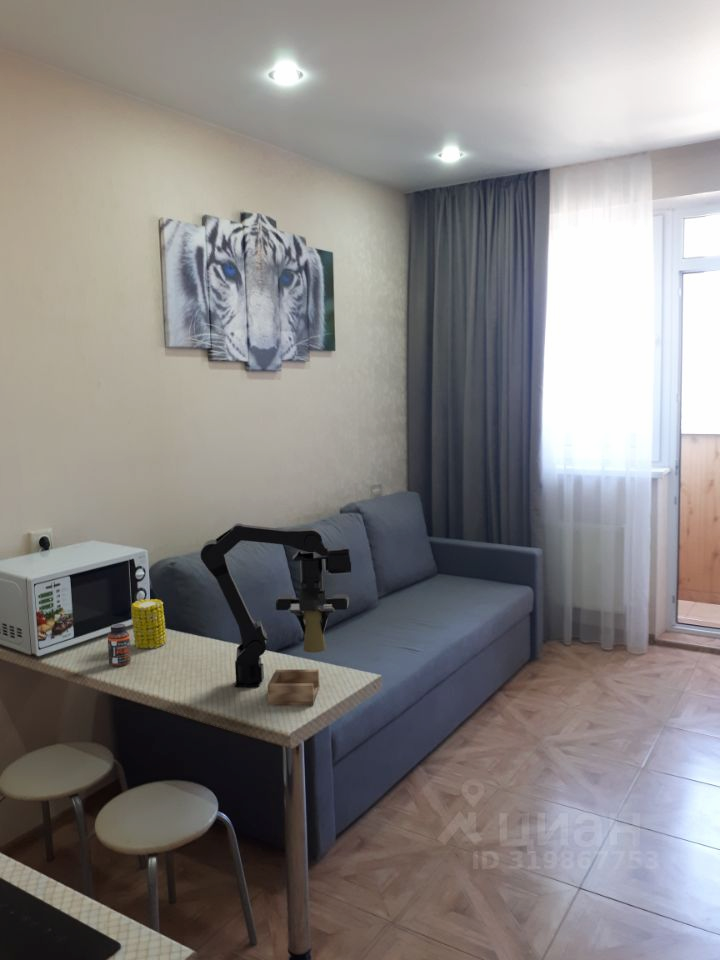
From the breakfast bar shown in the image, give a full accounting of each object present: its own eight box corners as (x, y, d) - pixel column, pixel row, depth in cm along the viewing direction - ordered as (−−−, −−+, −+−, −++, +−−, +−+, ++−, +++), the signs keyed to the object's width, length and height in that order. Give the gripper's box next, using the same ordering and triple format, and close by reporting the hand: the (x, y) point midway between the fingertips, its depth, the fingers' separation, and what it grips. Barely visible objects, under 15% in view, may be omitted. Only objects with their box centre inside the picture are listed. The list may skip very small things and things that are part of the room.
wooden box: (267, 705, 180) (266, 686, 179) (277, 687, 192) (276, 668, 191) (313, 705, 179) (312, 686, 179) (319, 686, 191) (318, 668, 190)
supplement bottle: (118, 668, 209) (115, 629, 208) (104, 665, 213) (102, 626, 212) (135, 662, 214) (132, 624, 213) (121, 659, 218) (119, 621, 217)
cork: (330, 647, 198) (328, 606, 197) (317, 653, 193) (316, 612, 192) (311, 644, 201) (310, 604, 200) (298, 650, 196) (296, 609, 195)
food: (168, 644, 235) (158, 657, 225) (132, 637, 235) (120, 649, 225) (176, 599, 232) (166, 609, 222) (139, 591, 232) (127, 601, 223)
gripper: (270, 583, 188) (273, 643, 190) (344, 582, 187) (346, 643, 188) (278, 573, 199) (281, 630, 201) (348, 572, 198) (350, 630, 199)
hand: (313, 633), depth 197 cm, fingers closed on cork, 4 cm apart
